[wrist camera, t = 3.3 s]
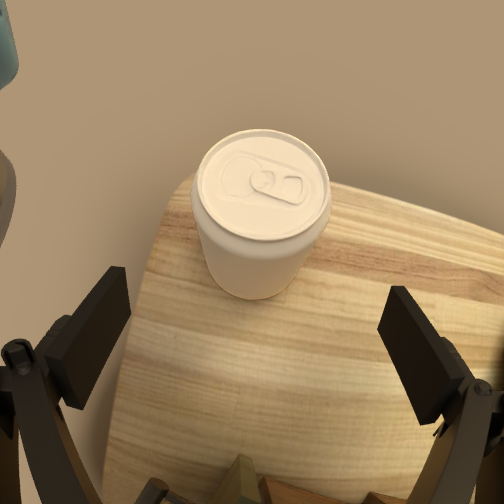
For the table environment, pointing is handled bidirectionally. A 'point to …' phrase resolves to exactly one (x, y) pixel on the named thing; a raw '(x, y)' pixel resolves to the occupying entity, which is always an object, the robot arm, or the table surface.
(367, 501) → the cabinet
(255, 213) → the beverage can
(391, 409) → the table surface
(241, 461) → the drawer
